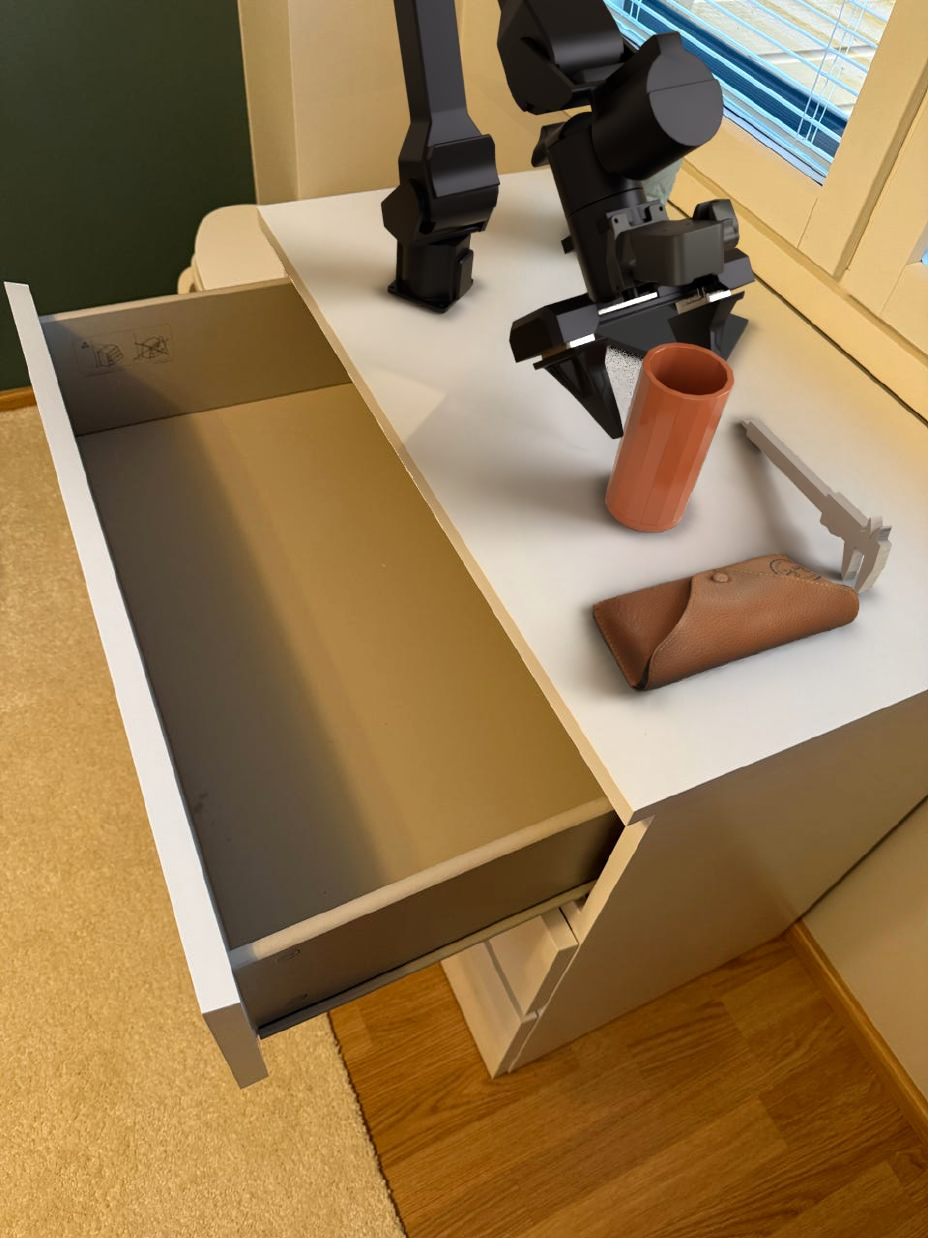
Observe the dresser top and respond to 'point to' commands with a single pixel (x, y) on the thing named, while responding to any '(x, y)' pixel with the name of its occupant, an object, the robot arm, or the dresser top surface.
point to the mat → (660, 331)
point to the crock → (667, 435)
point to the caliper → (831, 511)
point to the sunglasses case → (718, 618)
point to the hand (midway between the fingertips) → (666, 419)
